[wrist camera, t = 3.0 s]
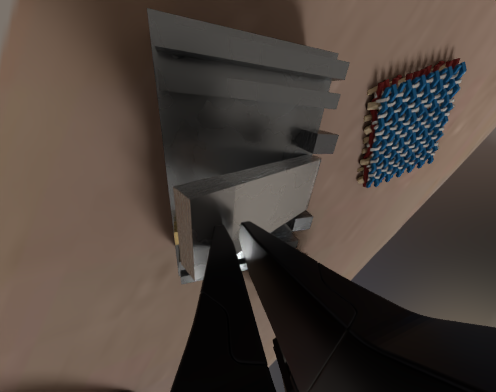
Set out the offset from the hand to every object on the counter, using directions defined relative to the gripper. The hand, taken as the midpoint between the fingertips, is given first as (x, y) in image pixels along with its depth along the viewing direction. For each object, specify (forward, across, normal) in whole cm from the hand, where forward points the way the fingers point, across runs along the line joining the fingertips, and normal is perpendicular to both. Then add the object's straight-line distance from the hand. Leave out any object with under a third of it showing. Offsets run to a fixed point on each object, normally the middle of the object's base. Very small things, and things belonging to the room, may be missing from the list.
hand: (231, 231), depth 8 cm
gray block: (+3, -3, 0) cm, 4 cm away
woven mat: (+8, -20, -4) cm, 22 cm away
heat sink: (+8, -2, 0) cm, 8 cm away
